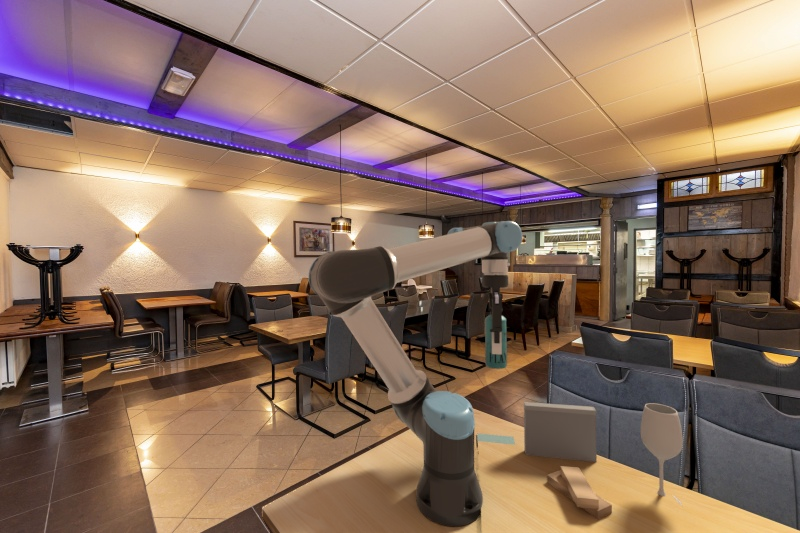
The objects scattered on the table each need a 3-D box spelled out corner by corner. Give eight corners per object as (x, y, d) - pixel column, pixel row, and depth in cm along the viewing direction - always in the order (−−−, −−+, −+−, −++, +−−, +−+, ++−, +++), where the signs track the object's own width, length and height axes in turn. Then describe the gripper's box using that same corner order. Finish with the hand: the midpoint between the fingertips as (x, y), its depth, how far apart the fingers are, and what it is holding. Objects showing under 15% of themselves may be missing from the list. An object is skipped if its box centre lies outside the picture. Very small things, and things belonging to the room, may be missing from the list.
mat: (478, 454, 95) (478, 452, 95) (477, 434, 105) (477, 433, 105) (518, 458, 92) (518, 456, 92) (513, 438, 103) (513, 436, 103)
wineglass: (691, 513, 71) (690, 417, 71) (651, 509, 73) (651, 414, 73) (670, 490, 79) (669, 403, 79) (634, 486, 80) (634, 400, 80)
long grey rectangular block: (525, 459, 92) (525, 405, 92) (524, 454, 94) (523, 401, 94) (596, 467, 88) (596, 410, 88) (593, 461, 90) (593, 406, 90)
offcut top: (560, 474, 80) (560, 465, 80) (578, 475, 80) (578, 467, 80) (577, 507, 70) (577, 497, 70) (598, 509, 69) (598, 499, 69)
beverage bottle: (486, 373, 96) (485, 305, 96) (483, 366, 102) (483, 302, 102) (509, 374, 95) (508, 305, 95) (505, 367, 101) (504, 302, 101)
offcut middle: (547, 482, 80) (547, 474, 80) (560, 478, 82) (560, 470, 82) (598, 520, 68) (597, 511, 68) (611, 514, 70) (611, 504, 70)
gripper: (512, 275, 88) (512, 360, 88) (504, 273, 107) (505, 343, 107) (483, 275, 90) (484, 359, 90) (481, 273, 109) (482, 342, 109)
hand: (495, 350), depth 99 cm, fingers closed on beverage bottle, 6 cm apart
